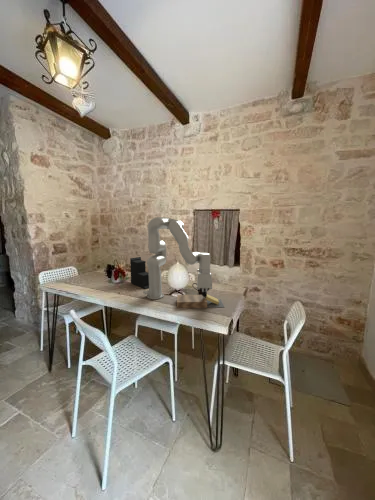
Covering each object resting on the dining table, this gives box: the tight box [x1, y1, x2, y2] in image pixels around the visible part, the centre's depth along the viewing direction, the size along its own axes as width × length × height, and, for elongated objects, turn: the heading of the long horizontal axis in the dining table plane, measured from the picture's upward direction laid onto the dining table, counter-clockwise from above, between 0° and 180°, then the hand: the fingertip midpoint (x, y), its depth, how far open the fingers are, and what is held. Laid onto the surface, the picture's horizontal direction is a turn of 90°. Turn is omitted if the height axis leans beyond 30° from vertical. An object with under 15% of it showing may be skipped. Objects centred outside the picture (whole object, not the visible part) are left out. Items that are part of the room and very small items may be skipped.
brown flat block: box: [176, 294, 208, 309], centre depth 151 cm, size 20×14×4 cm
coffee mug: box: [191, 282, 205, 295], centre depth 171 cm, size 12×9×10 cm
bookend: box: [129, 256, 149, 290], centre depth 193 cm, size 23×11×24 cm, turn 44°
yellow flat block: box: [206, 293, 219, 305], centre depth 151 cm, size 9×6×2 cm, turn 91°
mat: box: [207, 298, 225, 309], centre depth 152 cm, size 11×14×1 cm
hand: (204, 296), depth 151 cm, fingers closed
